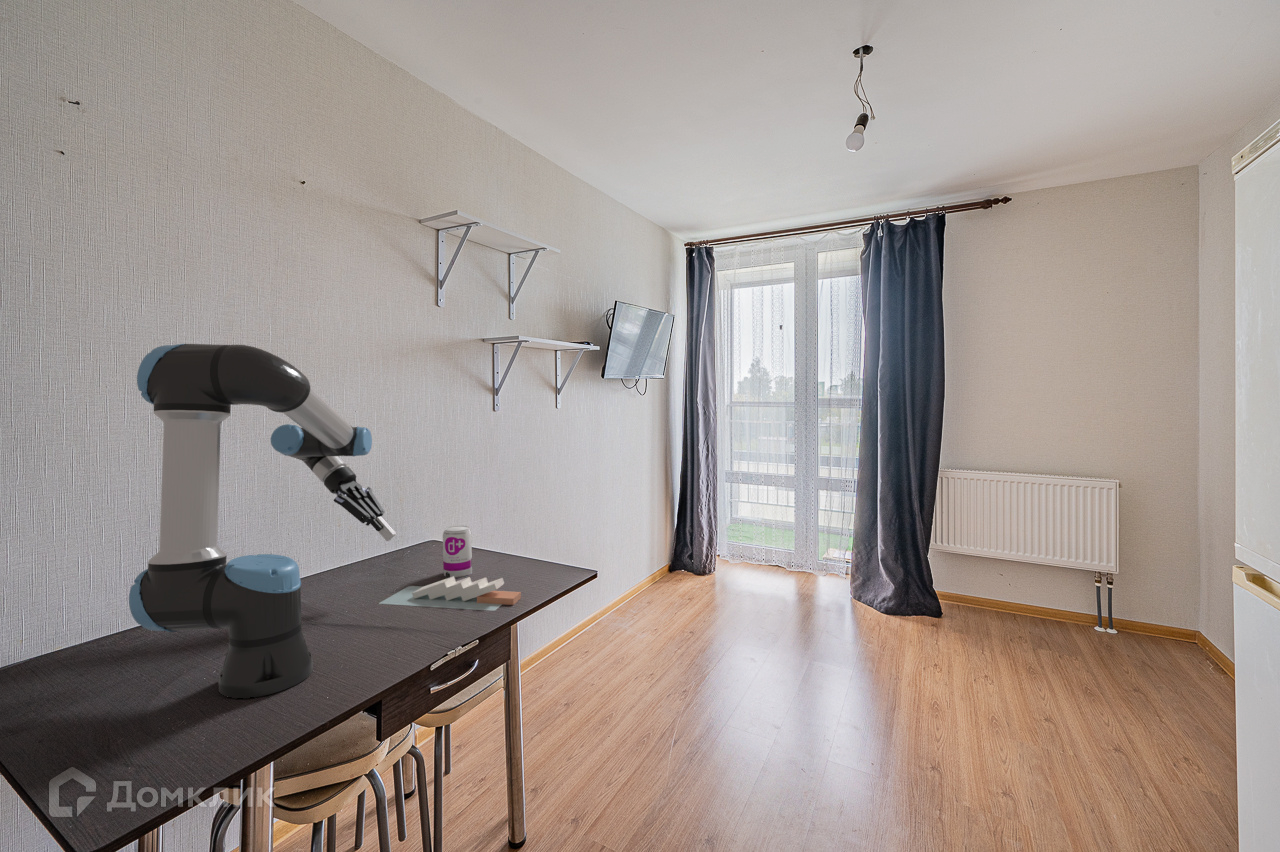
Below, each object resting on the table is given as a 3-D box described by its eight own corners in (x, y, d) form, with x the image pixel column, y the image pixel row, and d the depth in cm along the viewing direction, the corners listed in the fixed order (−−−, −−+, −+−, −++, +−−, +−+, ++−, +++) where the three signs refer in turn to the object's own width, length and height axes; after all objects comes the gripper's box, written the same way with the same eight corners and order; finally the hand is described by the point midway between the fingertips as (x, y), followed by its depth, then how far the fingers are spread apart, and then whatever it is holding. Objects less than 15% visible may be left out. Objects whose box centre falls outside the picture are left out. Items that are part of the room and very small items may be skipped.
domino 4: (472, 594, 151) (504, 583, 149) (463, 601, 146) (496, 589, 144) (469, 589, 151) (502, 577, 149) (460, 595, 146) (494, 583, 144)
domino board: (495, 615, 139) (494, 610, 139) (378, 608, 145) (378, 603, 145) (516, 596, 153) (516, 591, 153) (409, 590, 159) (409, 585, 159)
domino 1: (424, 592, 153) (455, 581, 151) (413, 598, 148) (446, 587, 146) (422, 587, 153) (453, 576, 151) (411, 593, 148) (444, 581, 146)
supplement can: (467, 581, 166) (466, 531, 165) (439, 581, 166) (438, 531, 165) (475, 573, 174) (474, 525, 173) (449, 573, 174) (448, 525, 174)
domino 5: (485, 596, 150) (520, 598, 148) (476, 602, 145) (513, 604, 143) (485, 590, 150) (520, 592, 148) (476, 596, 145) (513, 598, 143)
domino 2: (439, 593, 152) (471, 582, 150) (430, 599, 147) (463, 588, 145) (437, 587, 152) (469, 576, 150) (427, 594, 147) (460, 582, 146)
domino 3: (456, 594, 151) (488, 582, 150) (446, 600, 146) (479, 588, 145) (453, 588, 151) (486, 577, 150) (444, 595, 146) (477, 583, 145)
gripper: (343, 480, 160) (397, 541, 158) (309, 487, 148) (367, 553, 145) (359, 462, 159) (414, 523, 157) (326, 467, 146) (385, 533, 144)
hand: (391, 537), depth 151 cm, fingers closed
